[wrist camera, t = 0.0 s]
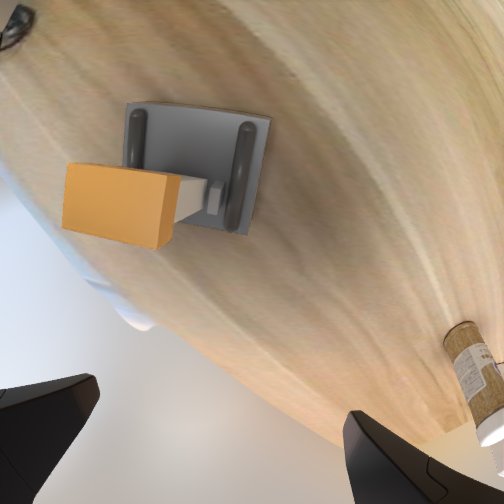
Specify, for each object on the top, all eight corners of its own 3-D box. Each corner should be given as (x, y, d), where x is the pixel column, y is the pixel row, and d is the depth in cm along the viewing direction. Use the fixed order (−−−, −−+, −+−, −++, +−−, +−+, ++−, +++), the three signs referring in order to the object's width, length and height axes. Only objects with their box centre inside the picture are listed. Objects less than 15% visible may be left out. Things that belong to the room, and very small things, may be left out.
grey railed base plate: (146, 101, 18) (114, 104, 14) (271, 117, 18) (268, 121, 14) (139, 196, 22) (110, 219, 18) (251, 217, 22) (244, 247, 18)
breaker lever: (153, 165, 17) (67, 162, 9) (215, 175, 17) (167, 175, 9) (147, 203, 18) (61, 228, 9) (208, 214, 18) (156, 250, 9)
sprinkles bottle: (482, 325, 25) (529, 419, 13) (457, 353, 27) (494, 447, 16) (461, 315, 25) (512, 420, 13) (434, 345, 27) (472, 450, 15)
